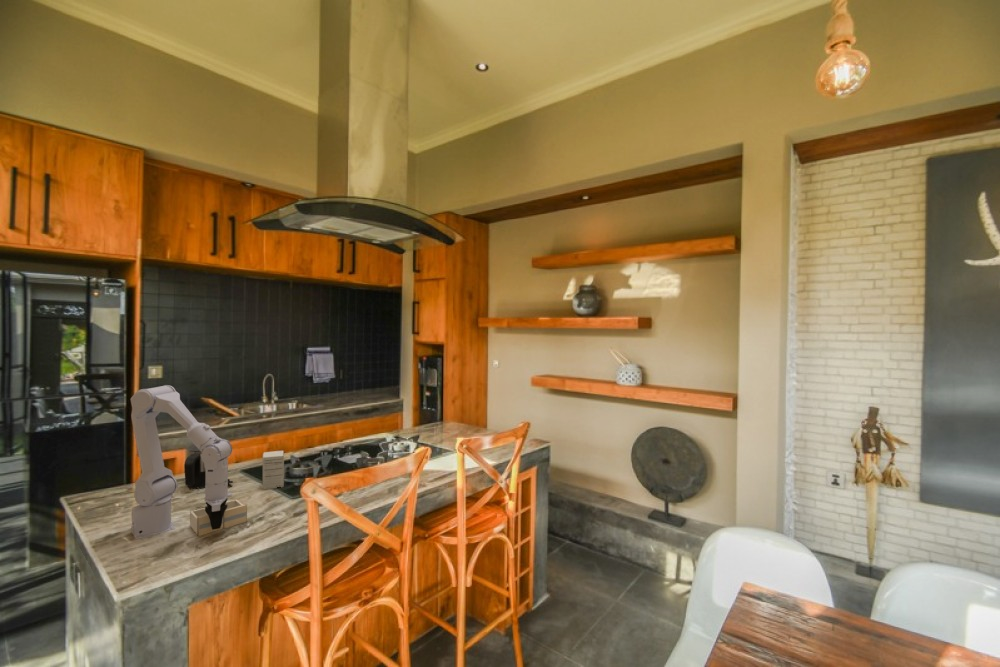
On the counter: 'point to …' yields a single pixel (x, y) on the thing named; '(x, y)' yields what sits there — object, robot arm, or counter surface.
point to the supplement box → (273, 469)
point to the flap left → (205, 525)
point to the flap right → (235, 516)
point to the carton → (202, 512)
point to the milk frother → (195, 469)
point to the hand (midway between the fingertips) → (216, 525)
